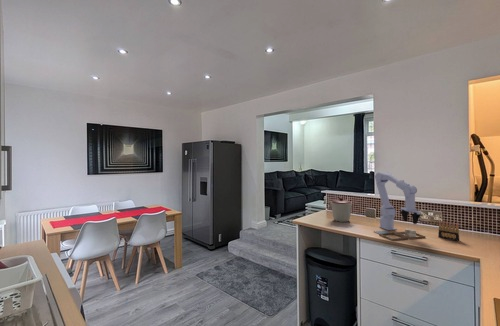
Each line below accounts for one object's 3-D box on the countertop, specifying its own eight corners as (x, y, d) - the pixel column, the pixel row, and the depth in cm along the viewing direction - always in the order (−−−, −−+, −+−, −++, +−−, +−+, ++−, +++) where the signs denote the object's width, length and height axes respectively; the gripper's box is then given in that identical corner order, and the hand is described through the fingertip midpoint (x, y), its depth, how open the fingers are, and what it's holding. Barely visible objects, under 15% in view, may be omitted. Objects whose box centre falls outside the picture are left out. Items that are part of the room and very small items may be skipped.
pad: (373, 231, 176) (373, 231, 176) (385, 231, 178) (385, 230, 178) (380, 234, 169) (380, 234, 169) (392, 233, 171) (392, 233, 171)
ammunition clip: (438, 237, 162) (438, 219, 162) (438, 236, 163) (438, 219, 163) (458, 241, 154) (458, 222, 154) (459, 240, 155) (459, 222, 155)
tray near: (379, 235, 168) (379, 233, 168) (393, 234, 170) (393, 232, 170) (392, 240, 156) (392, 239, 156) (407, 239, 158) (407, 237, 158)
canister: (326, 219, 216) (326, 196, 216) (343, 217, 222) (342, 195, 222) (339, 224, 199) (339, 199, 199) (357, 222, 205) (356, 197, 205)
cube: (405, 235, 167) (404, 229, 167) (410, 234, 168) (410, 228, 168) (410, 237, 163) (410, 230, 163) (415, 236, 164) (415, 230, 164)
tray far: (396, 233, 170) (396, 232, 170) (410, 232, 173) (410, 231, 173) (410, 239, 159) (410, 237, 159) (425, 237, 161) (425, 236, 161)
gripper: (396, 201, 172) (397, 220, 172) (414, 205, 158) (414, 225, 158) (405, 201, 173) (405, 219, 173) (423, 204, 159) (423, 224, 159)
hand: (410, 222), depth 166 cm, fingers open, 7 cm apart
